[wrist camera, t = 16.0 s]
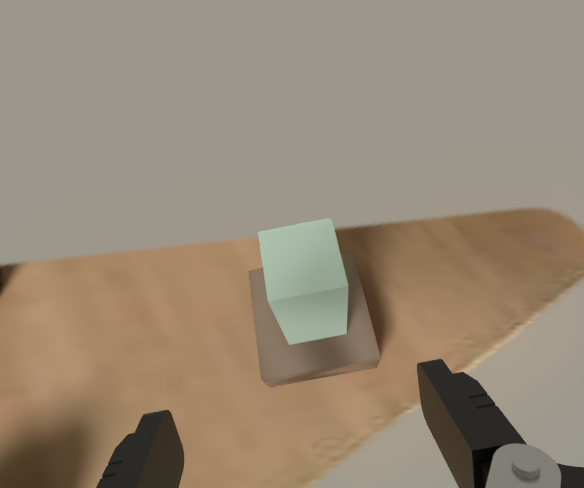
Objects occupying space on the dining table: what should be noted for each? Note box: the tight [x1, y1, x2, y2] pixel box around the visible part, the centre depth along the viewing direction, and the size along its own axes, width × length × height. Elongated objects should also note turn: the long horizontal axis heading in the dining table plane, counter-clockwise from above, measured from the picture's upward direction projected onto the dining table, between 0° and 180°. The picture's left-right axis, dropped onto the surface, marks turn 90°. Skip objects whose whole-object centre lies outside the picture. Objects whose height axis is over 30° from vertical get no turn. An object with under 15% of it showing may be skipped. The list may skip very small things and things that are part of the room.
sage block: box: [258, 218, 348, 345], centre depth 28 cm, size 4×4×10 cm
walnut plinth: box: [249, 251, 381, 387], centre depth 34 cm, size 9×9×4 cm
